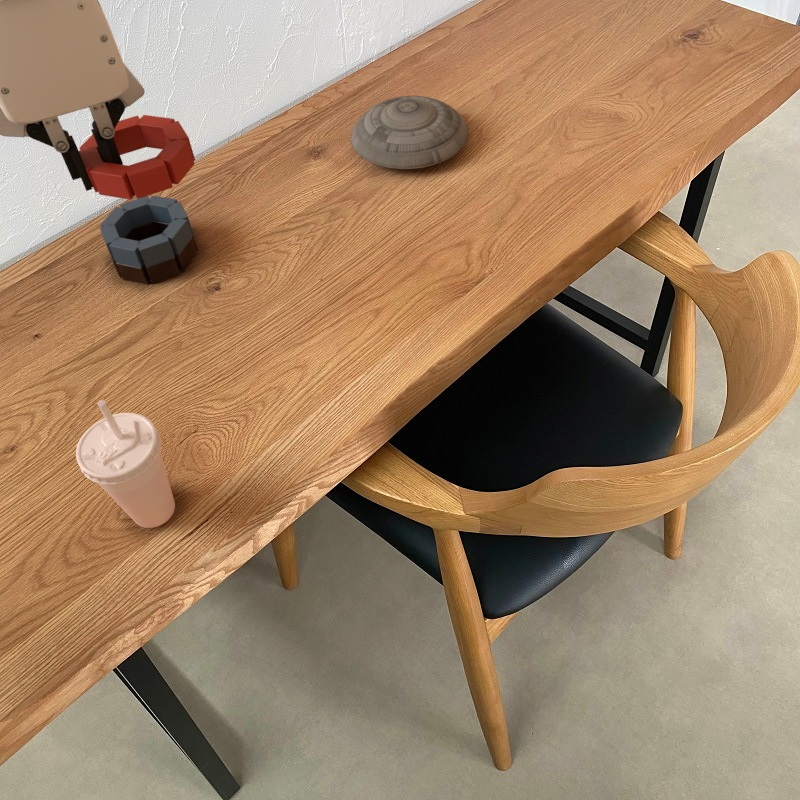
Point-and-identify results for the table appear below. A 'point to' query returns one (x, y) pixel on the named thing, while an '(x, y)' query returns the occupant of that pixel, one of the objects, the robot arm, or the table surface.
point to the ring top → (146, 173)
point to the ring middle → (149, 248)
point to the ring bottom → (160, 269)
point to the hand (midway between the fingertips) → (99, 176)
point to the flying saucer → (409, 133)
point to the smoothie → (128, 465)
